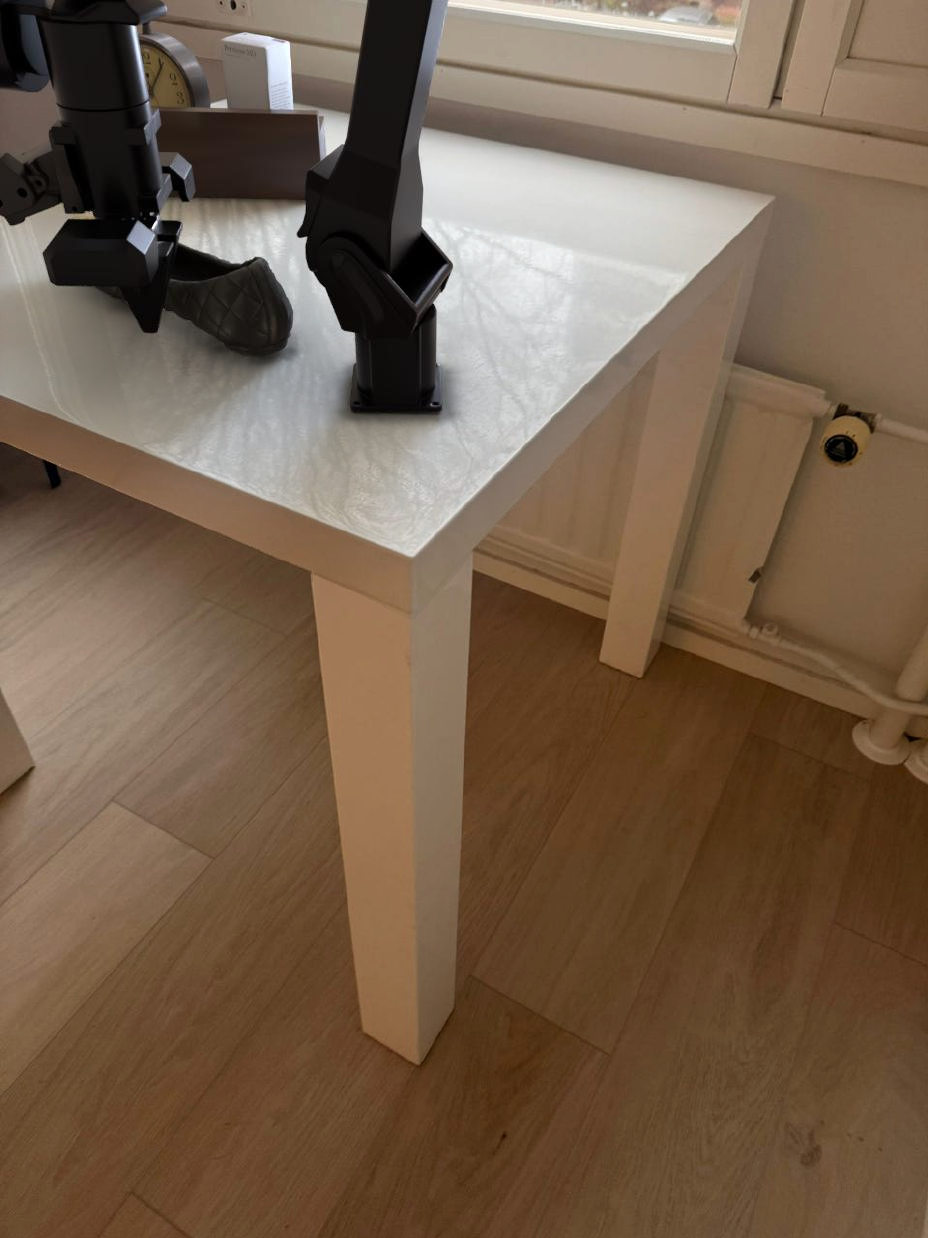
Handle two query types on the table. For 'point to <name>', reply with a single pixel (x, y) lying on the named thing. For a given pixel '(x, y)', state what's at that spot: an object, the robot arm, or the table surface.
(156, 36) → the alarm clock
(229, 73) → the cosmetic box
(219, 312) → the ballet flat
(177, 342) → the table surface
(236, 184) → the brown wooden box
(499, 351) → the table surface
